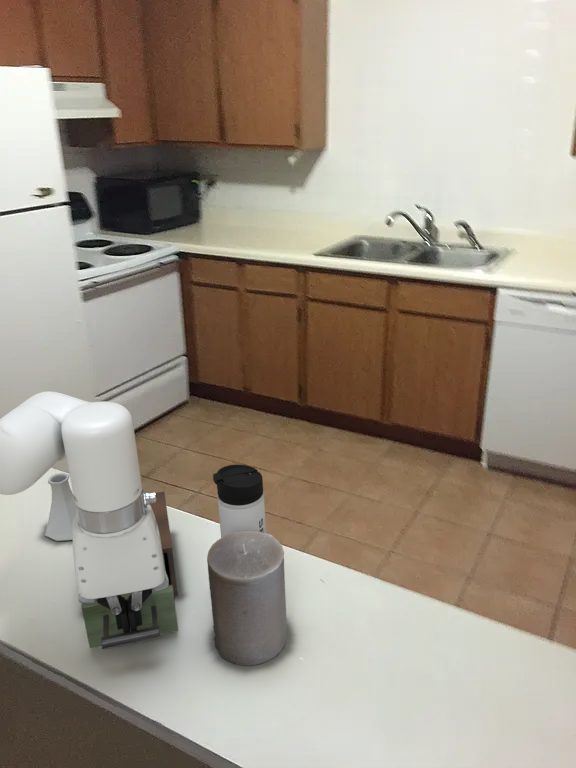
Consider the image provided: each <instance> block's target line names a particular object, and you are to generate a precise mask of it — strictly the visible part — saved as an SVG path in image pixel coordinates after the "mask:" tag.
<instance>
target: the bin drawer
mask: <svg viewBox="0 0 576 768" xmlns="http://www.w3.org/2000/svg"><path fill="white" fill-rule="evenodd" d="M163 558H164V553H163ZM164 570H165V572H166V567H165V560H164ZM130 595H131V593H126V594H121V596H122V597H124V598H125V599H126V600H127V599H129V596H130ZM127 607H128V600H127ZM176 610H177V609H176V602H175V596H174V593H173V585H169V586H168V587H166V588H164V589H161V590H159V591H156V592H155V591H154V592H152V594H151V595H150V596H149V597H148V598H147V599H146V600H145V601H144V602H143V604H142V607H141V616H142V625H140V626H137V630H136V631H131V629H130V632H126V633H124V632H123V629H120V630H118V628H117V623H116V617H115V615H114V614H113V613H112V612H111V610H110V609H108V608H106V607H104V606H102V605H100V604H99V603H97V602H95V603H81V612H82V617H83V622H84V626H85V631H86V636H87V641H88V646H89V647H88V648H89V649H93V648H94V649H95V648H101V650H108V649H112V648H117V647H122V646H128V645H132V644H137V643H142V642H147V641H153V640H158V639H161V637H162V636H161V635H165V634H170V633H175V632H179V625H178V617H177V611H176Z"/></svg>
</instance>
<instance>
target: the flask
mask: <svg viewBox="0 0 576 768" xmlns="http://www.w3.org/2000/svg"><path fill="white" fill-rule="evenodd" d="M69 480H70V475H69V473H65V472H57V473H54V474H53V475H51V476H49V478H48V480H47V484H48V485H50V490H51V503H50V508H49V509H50V510H49V514H48V519H47V524H46V528H45V533H44V536H45V537H47V538H49V539H52V540H54V541H57V542H59V541H71V540H72V541H73V539H72V526H73V518H74V517H75V515H76V514H77V512H76V507H75V501H74V496H73V490H71V489H72V488H71V487H70V486H71V485H70V483H69Z"/></svg>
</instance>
